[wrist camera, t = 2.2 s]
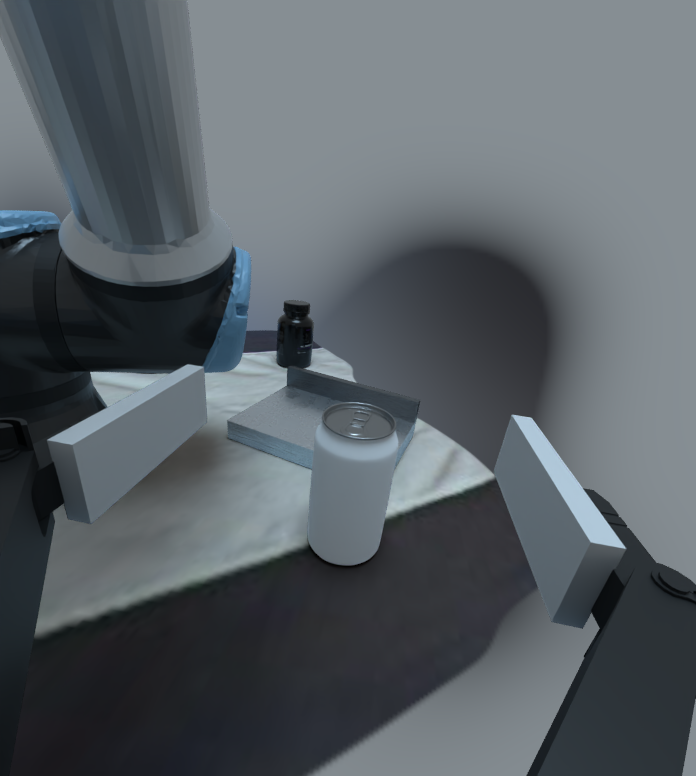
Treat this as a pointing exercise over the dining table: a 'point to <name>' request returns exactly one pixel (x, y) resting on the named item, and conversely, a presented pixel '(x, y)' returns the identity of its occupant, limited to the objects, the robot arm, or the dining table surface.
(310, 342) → the supplement bottle
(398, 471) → the dining table surface
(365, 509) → the can
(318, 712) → the dining table surface
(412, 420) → the grey tray
